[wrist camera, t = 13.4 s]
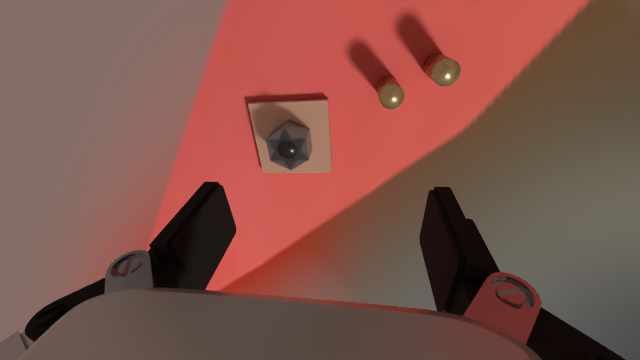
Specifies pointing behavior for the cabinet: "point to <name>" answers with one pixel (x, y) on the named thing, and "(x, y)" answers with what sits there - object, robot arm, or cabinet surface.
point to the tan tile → (304, 113)
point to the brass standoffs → (434, 67)
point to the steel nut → (289, 144)
